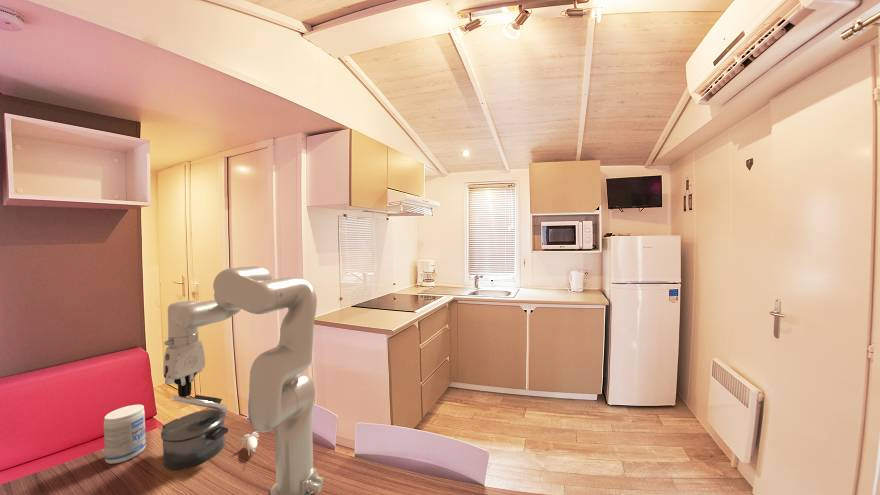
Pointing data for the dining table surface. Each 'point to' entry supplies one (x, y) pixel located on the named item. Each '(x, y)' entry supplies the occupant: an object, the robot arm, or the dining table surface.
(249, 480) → the dining table surface
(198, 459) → the pot
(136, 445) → the supplement tub
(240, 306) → the robot arm
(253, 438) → the white toy bomb
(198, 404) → the pot lid
